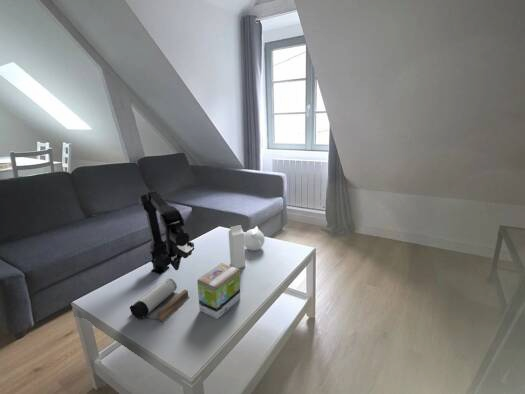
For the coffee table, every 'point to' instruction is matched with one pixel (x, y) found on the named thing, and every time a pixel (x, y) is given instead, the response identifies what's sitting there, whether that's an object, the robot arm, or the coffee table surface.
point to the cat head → (253, 239)
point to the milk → (237, 247)
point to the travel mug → (153, 298)
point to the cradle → (168, 306)
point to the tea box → (219, 290)
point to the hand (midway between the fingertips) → (176, 270)
